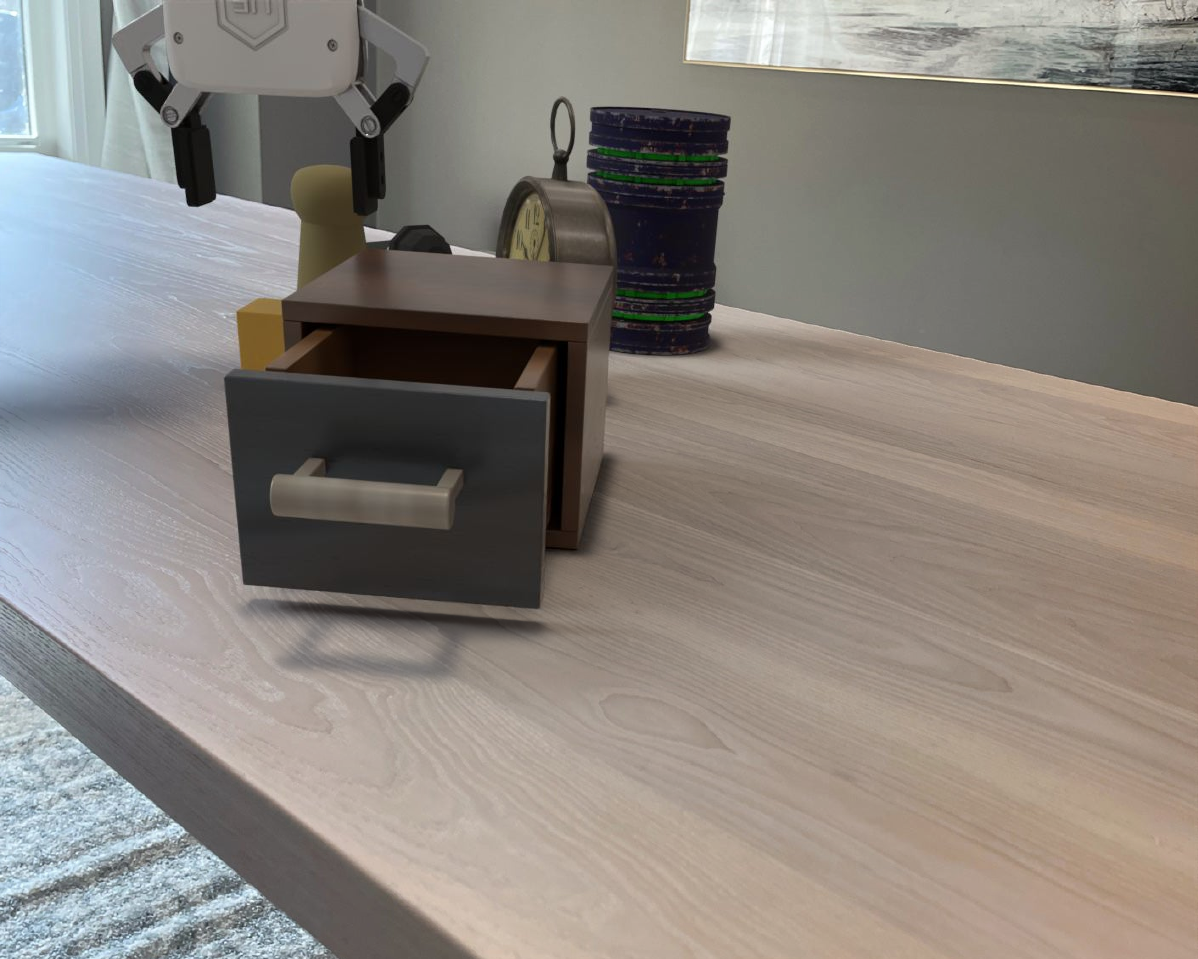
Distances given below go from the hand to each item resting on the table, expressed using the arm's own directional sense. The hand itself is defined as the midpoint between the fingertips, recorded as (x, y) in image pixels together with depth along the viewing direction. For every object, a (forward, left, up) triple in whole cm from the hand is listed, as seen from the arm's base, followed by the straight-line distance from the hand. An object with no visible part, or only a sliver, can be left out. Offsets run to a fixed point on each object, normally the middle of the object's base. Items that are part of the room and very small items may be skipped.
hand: (284, 208), depth 74 cm
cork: (0, +12, -10) cm, 15 cm away
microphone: (-2, +35, -10) cm, 36 cm away
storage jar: (+21, +20, -10) cm, 30 cm away
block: (0, 0, -10) cm, 10 cm away
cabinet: (+14, -18, -10) cm, 25 cm away
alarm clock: (+16, +4, -10) cm, 19 cm away
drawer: (+14, -30, -9) cm, 34 cm away
